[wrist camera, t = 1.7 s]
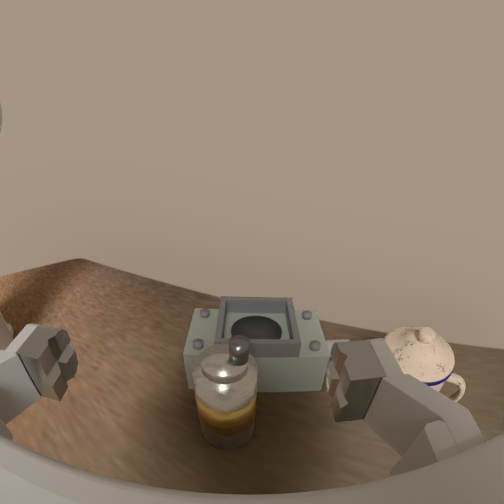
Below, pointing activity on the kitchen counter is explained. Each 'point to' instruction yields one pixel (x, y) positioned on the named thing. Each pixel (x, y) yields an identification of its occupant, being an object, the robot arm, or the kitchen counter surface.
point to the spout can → (226, 392)
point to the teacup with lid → (425, 357)
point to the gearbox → (265, 341)
